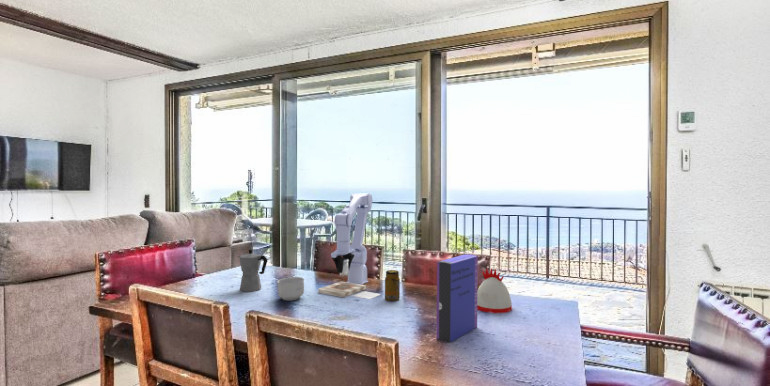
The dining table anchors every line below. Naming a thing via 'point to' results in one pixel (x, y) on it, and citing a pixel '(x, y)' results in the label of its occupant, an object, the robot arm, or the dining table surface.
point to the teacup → (290, 288)
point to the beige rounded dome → (493, 294)
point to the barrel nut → (345, 268)
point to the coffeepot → (251, 271)
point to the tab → (367, 295)
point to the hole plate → (345, 291)
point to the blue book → (456, 297)
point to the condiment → (392, 285)
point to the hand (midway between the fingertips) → (343, 271)
